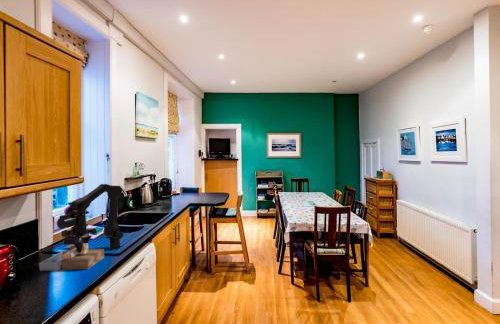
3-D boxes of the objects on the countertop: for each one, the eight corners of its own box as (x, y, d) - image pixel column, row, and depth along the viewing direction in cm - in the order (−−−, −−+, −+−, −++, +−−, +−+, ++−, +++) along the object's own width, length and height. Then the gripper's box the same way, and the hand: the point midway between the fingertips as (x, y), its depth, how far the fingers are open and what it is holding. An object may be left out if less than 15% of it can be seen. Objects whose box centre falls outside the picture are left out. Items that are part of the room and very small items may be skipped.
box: (63, 257, 146) (62, 250, 146) (81, 257, 146) (80, 250, 145) (39, 270, 130) (39, 263, 130) (59, 270, 130) (59, 262, 129)
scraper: (85, 248, 143) (84, 240, 143) (93, 248, 143) (93, 240, 143) (69, 258, 131) (69, 248, 131) (78, 257, 131) (78, 248, 131)
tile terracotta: (68, 255, 136) (68, 251, 136) (76, 255, 136) (76, 251, 136) (62, 258, 132) (62, 255, 132) (70, 258, 132) (70, 254, 132)
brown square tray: (80, 257, 145) (80, 249, 144) (104, 257, 144) (103, 248, 144) (61, 269, 131) (61, 260, 130) (88, 269, 130) (87, 259, 130)
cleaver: (66, 257, 147) (66, 253, 147) (48, 258, 146) (48, 254, 146) (91, 240, 176) (91, 237, 176) (76, 241, 175) (76, 238, 175)
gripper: (77, 219, 146) (79, 245, 147) (51, 229, 127) (53, 259, 128) (96, 218, 146) (97, 244, 146) (73, 228, 127) (75, 258, 128)
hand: (81, 251), depth 137 cm, fingers closed on scraper, 3 cm apart
